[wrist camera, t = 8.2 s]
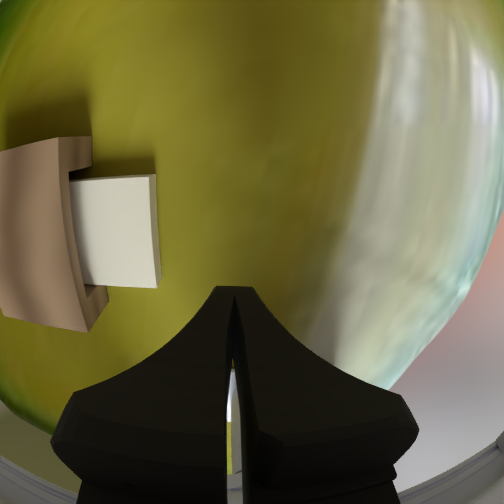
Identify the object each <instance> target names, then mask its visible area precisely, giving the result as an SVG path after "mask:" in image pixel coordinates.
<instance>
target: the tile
mask: <svg viewBox="0 0 504 504" xmlns="http://www.w3.org/2000/svg"><path fill="white" fill-rule="evenodd" d="M69 190H70V202H71V212H72V221H73V228H74V236H75V242H76V248H77V254H78V260H79V265H80V270H81V275H82V280H83V284H93V285H108V286H125V287H144V288H157V287H158V285H159V283H160V281H161V279H162V273H161V263H160V251H159V238H158V221H157V199H156V174H144V175H125V176H110V177H97V178H86V179H75V180H69Z"/></svg>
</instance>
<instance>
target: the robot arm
mask: <svg viewBox="0 0 504 504" xmlns="http://www.w3.org/2000/svg"><path fill="white" fill-rule="evenodd" d="M232 359H233V362H234V369H231V368H232ZM227 421H228V422H231V448H232V474H231V475H227ZM418 432H419V427H418V425H417V423H416V421H415V419H414V417H413V415H412V413H411V411H410V409H409V407H408V406H407V404H406V402H405V401H404V399H403V398H402V396H401V395H399V394H396V393H393V392H390V391H388V390H385V389H382V388H379V387H377V386H374V385H371V384H369V383H366V382H364V381H362V380H360V379H358V378H356V377H354V376H352V375H349V374H347V373H345V372H344V371H342V370H340V369H338V368H336V367H335V366H333V365H331V364H330V363H328V362H327V361H325V360H323V359H322V358H320V357H319V356H317V355H316V354H315V353H313V352H312V351H310V350H309V349H308V348H306V347H305V346H304V345H303V344H302V343H300V342H299V341H298V340H297V339H295V338H294V337H293V336H292V335H291V334H290V333H289V332H288V331H287V330H286V329H285V328H284V327H283V326H282V325H281V324H280V323H279V321H278V320H277V319H276V318H275V317H274V316H273V314H272V313H271V312H270V311H269V310H268V308H267V307H266V306H265V304H264V303H263V302H262V300H261V299H260V297H259V296H258V294H257V293H256V291H255V290H254V288H253V287H241V286H216V287H215V288H214V289H213V291H212V292H211V294H210V296H209V297H208V299H207V300H206V301H205V303H204V304H203V306H202V307H201V308H200V309H199V311H198V312H197V313H196V314H195V316H194V317H193V318H192V319H191V320H190V321H189V322H188V323H187V324H186V325H185V327H184V328H183V329H182V330H181V331H180V332H179V333H178V334H177V335H176V336H174V337H173V338H172V339H171V340H170V341H169V342H168V343H166V344H165V345H164V346H163V347H162V348H160V349H159V350H158V351H156V352H155V353H153V354H152V355H150V356H149V357H147V358H146V359H145V360H143V361H142V362H140V363H138V364H137V365H135V366H133V367H131V368H130V369H128V370H126V371H124V372H122V373H120V374H118V375H116V376H114V377H112V378H110V379H107V380H105V381H103V382H100V383H98V384H95V385H92V386H90V387H87V388H85V389H82V390H79V391H76V392H74V393H73V394H72V396H71V398H70V399H69V401H68V403H67V404H66V406H65V408H64V410H63V413H62V415H61V417H60V419H59V422H58V424H57V426H56V429H55V431H54V433H53V436H52V438H51V441H50V443H51V446H52V448H53V450H54V452H55V453H56V455H57V456H58V457H59V458H60V460H61V461H62V462H63V463H64V464H65V465H67V467H68V468H70V469H71V470H72V471H73V472H74V473H75V474H76V475H77V476H78V477H79V478H80V479H81V480H82V483H81V487H80V490H79V494H76V493H74V492H71V491H69V490H66V489H64V488H61V487H59V486H57V485H54V484H52V483H50V482H48V481H46V480H44V479H42V478H40V477H38V476H36V475H33V474H32V473H30V472H28V471H26V470H24V469H22V468H21V467H19V466H17V465H15V464H14V463H12V462H10V461H9V460H7V459H5V458H4V457H2V456H1V455H0V504H504V431H503V432H502V433H501V435H500V436H499V437H498V438H497V439H496V441H495V442H493V443H492V444H490V445H489V446H488V447H486V448H484V449H483V450H482V451H480V452H478V453H477V454H475V455H474V456H472V457H470V458H469V459H467V460H465V461H464V462H462V463H460V464H458V465H457V466H455V467H453V468H451V469H450V470H447V471H446V472H444V473H442V474H440V475H438V476H436V477H434V478H432V479H430V480H427V481H426V482H423V483H421V484H418V485H416V486H414V487H411V488H409V489H407V490H404V491H402V492H399V493H397V492H396V489H395V486H394V484H393V481H392V480H394V479H395V478H396V476H397V473H396V471H395V468H394V466H393V465H394V464H395V463H396V461H398V459H400V458H401V456H402V455H404V453H405V452H406V451H407V450H408V449H409V448H410V447H411V446H412V444H413V443H414V442H415V440H416V438H417V435H418Z"/></svg>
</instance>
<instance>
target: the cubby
mask: <svg viewBox="0 0 504 504" xmlns="http://www.w3.org/2000/svg"><path fill="white" fill-rule="evenodd" d="M91 166H92V136H76V137H57V138H52V139H47V140H43V141H39V142H34V143H30V144H26V145H23V146H19V147H15V148H12V149H8V150H5V151H1V152H0V307H1V310H2V313H3V315H4V316H8V317H12V318H16V319H20V320H24V321H29V322H33V323H38V324H43V325H48V326H53V327H58V328H63V329H69V330H75V331H81V332H87V333H88V332H89V331H90V329H91V328H92V326H93V324H94V323H95V321H96V320H97V318H98V317H99V315H100V314H101V312H102V311H103V309H104V308H105V306H106V305H107V303H108V302H109V300H108V295H107V290H106V285H93V284H83V280H82V275H81V270H80V265H79V260H78V254H77V248H76V242H75V236H74V228H73V221H72V212H71V202H70V190H69V173H68V172H70V171H74V170H78V169H82V168H86V167H91Z"/></svg>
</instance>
